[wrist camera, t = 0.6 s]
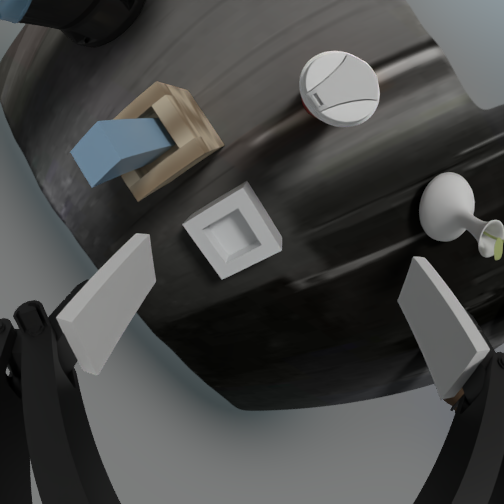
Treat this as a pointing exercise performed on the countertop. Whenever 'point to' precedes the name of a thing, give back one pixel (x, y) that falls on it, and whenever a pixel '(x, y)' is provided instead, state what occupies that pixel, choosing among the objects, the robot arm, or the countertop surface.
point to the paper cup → (339, 89)
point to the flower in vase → (457, 214)
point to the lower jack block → (234, 231)
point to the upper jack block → (181, 131)
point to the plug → (120, 147)
